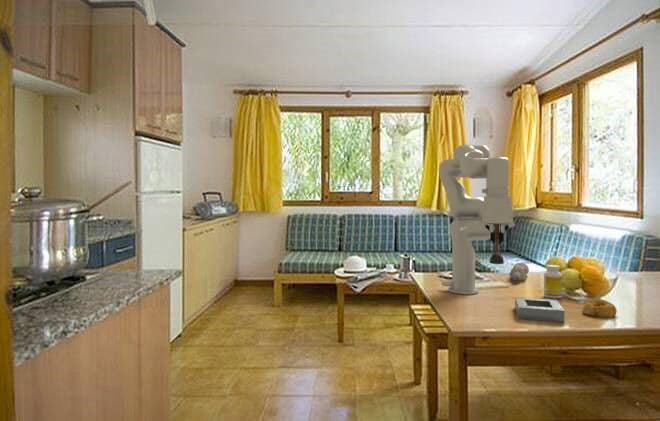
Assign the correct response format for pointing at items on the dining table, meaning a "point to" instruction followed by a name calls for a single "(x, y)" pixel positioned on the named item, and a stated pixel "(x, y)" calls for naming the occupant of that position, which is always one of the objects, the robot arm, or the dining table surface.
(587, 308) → the bagel
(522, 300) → the tray
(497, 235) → the wooden tabletop sculpture
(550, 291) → the supplement bottle
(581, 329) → the dining table surface
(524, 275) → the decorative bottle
